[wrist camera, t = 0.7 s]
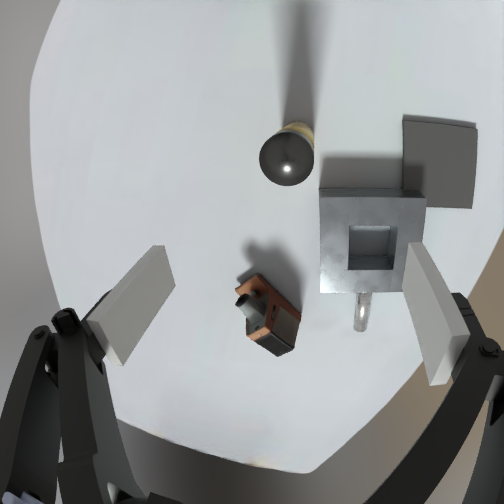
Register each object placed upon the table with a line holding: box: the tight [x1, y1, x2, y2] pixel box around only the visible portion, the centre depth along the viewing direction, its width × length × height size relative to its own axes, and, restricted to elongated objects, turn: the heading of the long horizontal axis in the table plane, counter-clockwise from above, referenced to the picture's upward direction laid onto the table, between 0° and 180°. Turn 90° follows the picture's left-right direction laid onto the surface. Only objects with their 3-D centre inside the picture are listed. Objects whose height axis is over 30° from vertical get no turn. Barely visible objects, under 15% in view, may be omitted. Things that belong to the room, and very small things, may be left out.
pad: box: [402, 121, 478, 209], centre depth 28 cm, size 10×10×1 cm
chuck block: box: [319, 188, 427, 332], centre depth 35 cm, size 20×12×4 cm, turn 7°
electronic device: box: [235, 274, 301, 357], centre depth 39 cm, size 4×10×8 cm, turn 45°
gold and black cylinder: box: [259, 122, 314, 186], centre depth 25 cm, size 4×4×14 cm
